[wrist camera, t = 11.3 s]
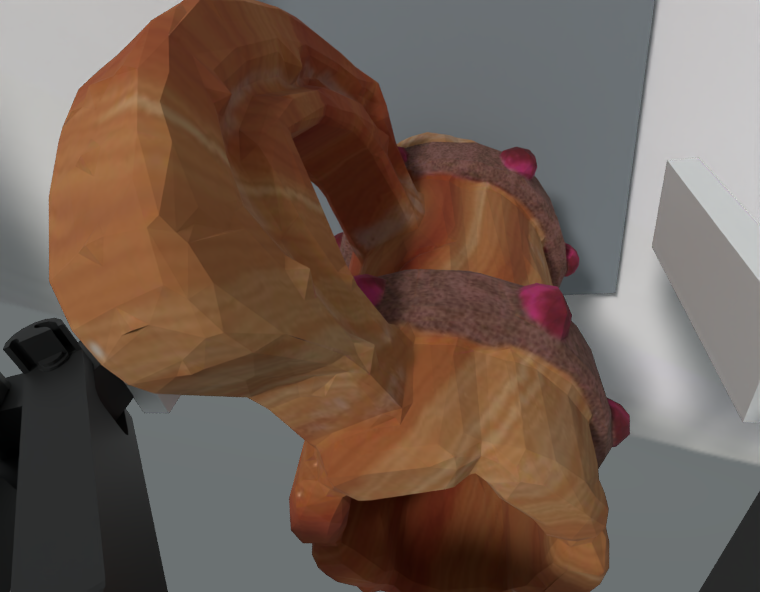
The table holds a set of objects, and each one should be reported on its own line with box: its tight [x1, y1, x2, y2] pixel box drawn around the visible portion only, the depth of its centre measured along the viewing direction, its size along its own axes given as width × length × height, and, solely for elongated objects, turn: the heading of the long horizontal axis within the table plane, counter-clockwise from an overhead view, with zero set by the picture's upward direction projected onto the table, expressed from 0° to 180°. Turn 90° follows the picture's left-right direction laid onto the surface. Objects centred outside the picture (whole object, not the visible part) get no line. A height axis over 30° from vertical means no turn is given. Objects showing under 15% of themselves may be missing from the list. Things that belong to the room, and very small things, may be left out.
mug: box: [49, 0, 630, 592], centre depth 13 cm, size 15×8×15 cm, turn 33°
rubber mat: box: [256, 0, 655, 295], centre depth 20 cm, size 14×14×1 cm
